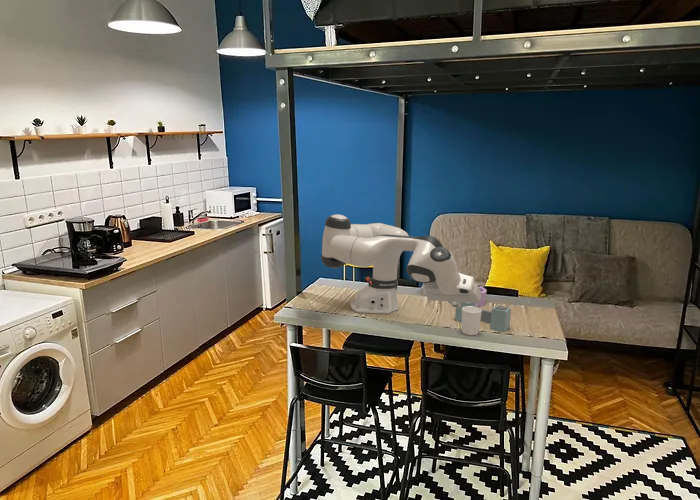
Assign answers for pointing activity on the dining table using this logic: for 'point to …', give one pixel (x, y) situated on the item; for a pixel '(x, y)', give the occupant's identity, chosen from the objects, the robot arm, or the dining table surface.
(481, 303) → the clip
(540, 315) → the dining table surface
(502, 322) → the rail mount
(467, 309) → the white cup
